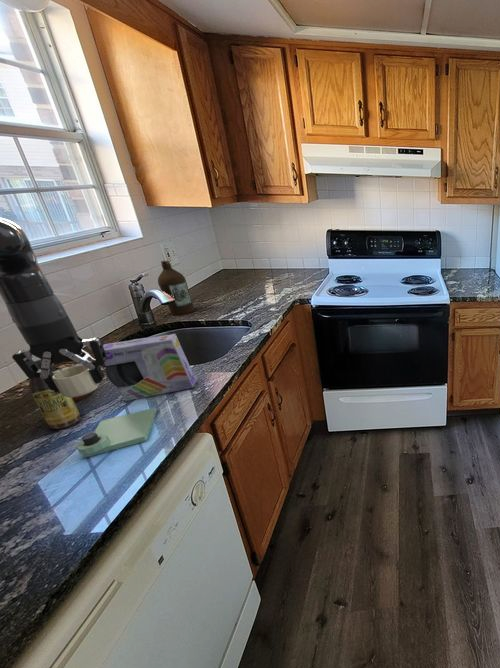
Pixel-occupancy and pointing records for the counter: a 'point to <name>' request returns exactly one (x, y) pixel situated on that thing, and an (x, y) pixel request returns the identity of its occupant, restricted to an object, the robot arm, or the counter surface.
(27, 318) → the robot arm
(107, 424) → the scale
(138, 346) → the cake pan box
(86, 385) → the bowl
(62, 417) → the sauce bottle
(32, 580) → the counter surface
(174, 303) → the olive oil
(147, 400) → the counter surface
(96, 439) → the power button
